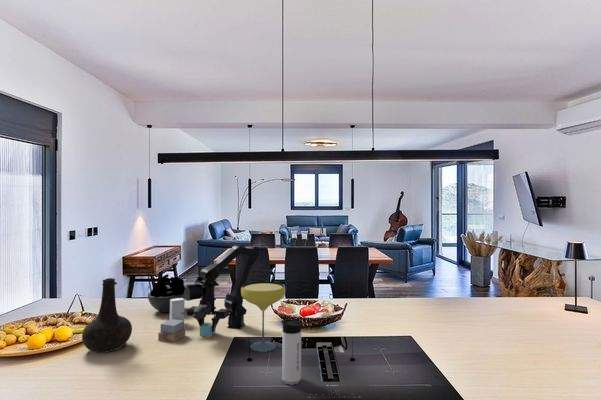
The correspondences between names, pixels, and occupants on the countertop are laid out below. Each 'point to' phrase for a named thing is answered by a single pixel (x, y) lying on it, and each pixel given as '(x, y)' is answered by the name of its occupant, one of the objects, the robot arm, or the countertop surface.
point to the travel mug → (291, 352)
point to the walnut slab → (171, 336)
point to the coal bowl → (166, 292)
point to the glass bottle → (107, 324)
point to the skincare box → (177, 309)
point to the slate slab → (172, 326)
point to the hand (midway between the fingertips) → (207, 331)
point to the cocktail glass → (263, 304)
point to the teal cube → (206, 329)
